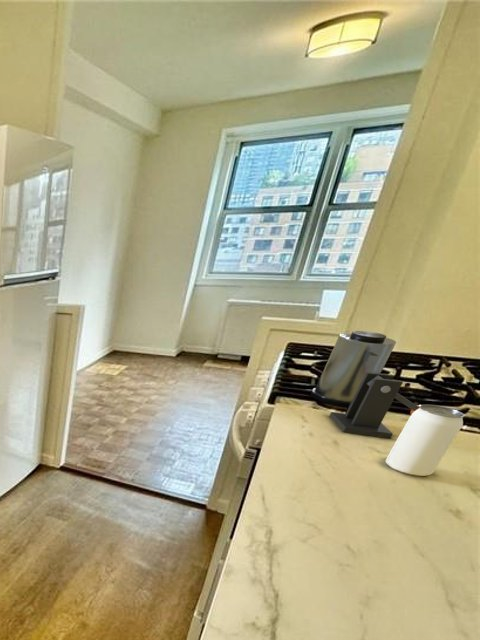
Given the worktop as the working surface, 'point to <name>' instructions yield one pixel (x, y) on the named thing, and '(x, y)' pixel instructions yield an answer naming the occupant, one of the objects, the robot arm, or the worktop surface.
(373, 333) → the kettle
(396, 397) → the switch
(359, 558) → the worktop surface
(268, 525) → the worktop surface
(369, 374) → the switch bracket
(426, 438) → the can
